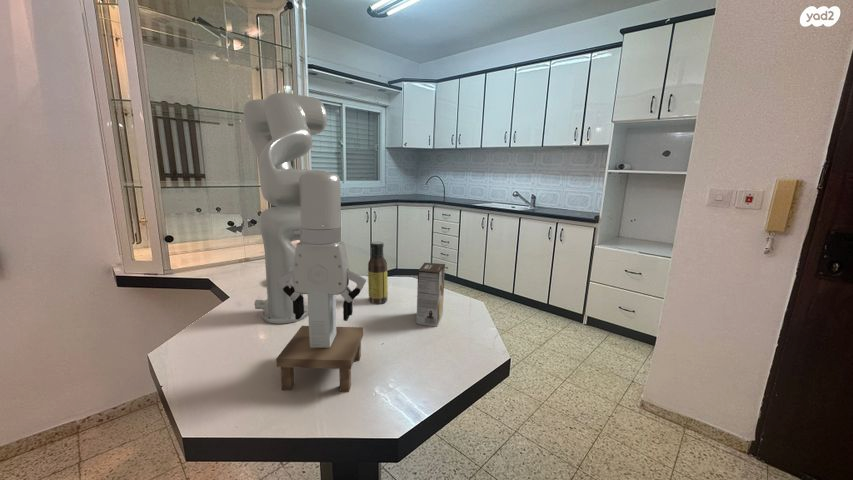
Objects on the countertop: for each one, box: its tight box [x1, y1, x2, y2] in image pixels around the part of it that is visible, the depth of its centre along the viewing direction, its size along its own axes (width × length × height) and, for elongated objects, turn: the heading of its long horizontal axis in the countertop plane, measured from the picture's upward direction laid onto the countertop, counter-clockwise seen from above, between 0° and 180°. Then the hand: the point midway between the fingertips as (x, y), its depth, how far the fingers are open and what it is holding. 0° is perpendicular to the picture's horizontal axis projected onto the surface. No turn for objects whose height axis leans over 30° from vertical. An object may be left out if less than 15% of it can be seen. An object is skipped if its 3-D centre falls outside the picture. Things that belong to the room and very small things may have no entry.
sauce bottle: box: [367, 240, 389, 305], centre depth 111 cm, size 6×6×20 cm
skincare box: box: [307, 292, 337, 348], centre depth 70 cm, size 6×4×12 cm
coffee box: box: [416, 262, 446, 327], centre depth 99 cm, size 9×6×16 cm
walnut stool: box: [276, 325, 364, 393], centre depth 72 cm, size 14×14×7 cm
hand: (323, 317), depth 71 cm, fingers open, 9 cm apart
